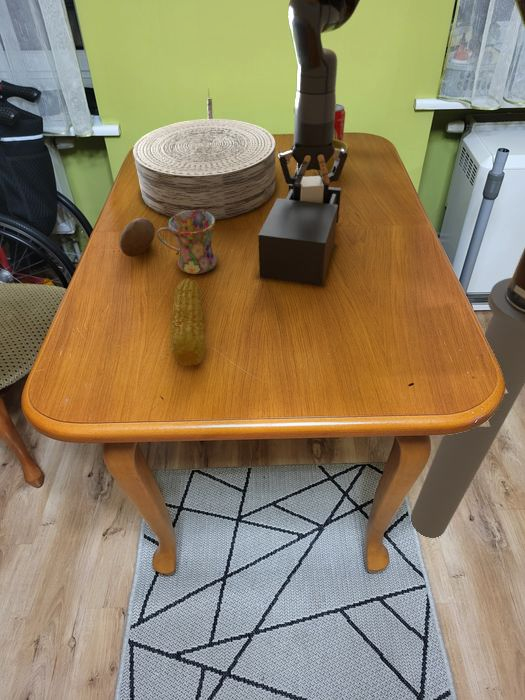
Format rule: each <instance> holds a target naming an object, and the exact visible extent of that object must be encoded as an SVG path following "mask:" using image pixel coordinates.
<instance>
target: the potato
mask: <svg viewBox="0 0 525 700" xmlns="http://www.w3.org/2000/svg"><path fill="white" fill-rule="evenodd" d="M155 229H156V228H155V226H154V223H153V221H151V220H149V219H148V218H145V217H138V218H136V219H134V220H131V221H129V222H128V224H125V226H124V228H123V230H122V232H121V234H120V236H119V248H120V250H121V252H122V253H123V254H124V255H125V256H127V257H136V256H139V255H141V254H142V253H144V252H146V251H147V250H148V249H149V247H150V246H151V244H152V243H153V241H154V239H155V235H156V230H155Z"/></svg>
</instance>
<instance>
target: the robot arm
mask: <svg viewBox="0 0 525 700" xmlns="http://www.w3.org/2000/svg"><path fill="white" fill-rule="evenodd" d="M513 1H514V3H515V6H516V8H517V11H518V14H519V17H520V20H521V23H522V25H523V27H524V29H525V0H513ZM360 2H361V0H289V3H288V9H287V19H288V27H289V31H290V36H291V41H292V45H293V51H294V55H295V60H296V88H295V97H294V106H293V107H294V108H293V115H294V117H293V143H292V146H291V148H290V149H289V150H287V151H279V152H277V158H278V161H279V164H280V167H281V171H282V174H283V178H284V180H285V184H286V185H289V184H292V185H293V198H294V200H298V201H300V196H301V186H300V184H301V181H302V178H303V177H305V174H306V172H307V171H312V170H314V171H315V170H320V172H321V176H322V177H321V176H320V177H321V180H322V182H323V185H324V191H323V201H325V199H326V198H327V197H328V188H329V187H330V184H331V183H332V182H338V181H339V180H340V178H341V177H340V176H341V174H342V172H343V169H344V167H345V164H346V161H347V159H348V152H347V153H346V151H345V149H344V148H340V149H337V148H334V146H333V133H334V120H335V107H336V104H337V97H336V89H337V87H336V85H337V74H338V55H337V53H336V51H334V50H332V49H330V48H325V47H323V42H322V34H325V33H330V32H334V31H336V30H338V29H339V30H340V28H342V27H343V26H344V25H345V24H347V22H349V20H350V19H351V18H352V17H353V15H354V14H355V11H356V9H357V7H358V6H359V3H360ZM333 154H334V158H335V163H334V166H333V168H332V171H331V173H329V174H328V172H327V168H326V163H327V162H328V161H329V159H330V158H331V157H332V155H333ZM291 158H293V159H294V160H295V163H296V165H295V171H294V174H293V175H291V173H290V170H289V167H288V165H289V164H290V163H291ZM511 278H512V279H511V282H510V284H509V286H508V288H507V290H506V292H505V299H506V301H507V302H508V304H509V305H510V306H512V307H513V308H514V309H516V310H517V311H519V312H521V313H524V314H525V247H524V249H523V250H522V253H521V255H520V257H519V260H518V263H517V264H516V267H515V269H514V272H513V275H512V277H511Z"/></svg>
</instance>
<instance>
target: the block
mask: <svg viewBox="0 0 525 700" xmlns="http://www.w3.org/2000/svg"><path fill="white" fill-rule="evenodd" d="M300 186H301V196H300V201H307V202H316V203H323V191H324V185H323V182H322V177H321V176H319V175H311V176H304V177H303V178H302V181H301V184H300Z"/></svg>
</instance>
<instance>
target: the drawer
mask: <svg viewBox="0 0 525 700" xmlns="http://www.w3.org/2000/svg"><path fill="white" fill-rule="evenodd" d="M341 197H342V188H341V187H334V186H329V188H328V197H327V198H326V199H325V201H323V203H326V204H335V205H338V210H337V221H336V224H338V223H339V217H340V209H341V208H340V206H341V199H342V198H341ZM285 199H288V200H294V198H293V185H292V184H288V194H287V195H286V198H285Z"/></svg>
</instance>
